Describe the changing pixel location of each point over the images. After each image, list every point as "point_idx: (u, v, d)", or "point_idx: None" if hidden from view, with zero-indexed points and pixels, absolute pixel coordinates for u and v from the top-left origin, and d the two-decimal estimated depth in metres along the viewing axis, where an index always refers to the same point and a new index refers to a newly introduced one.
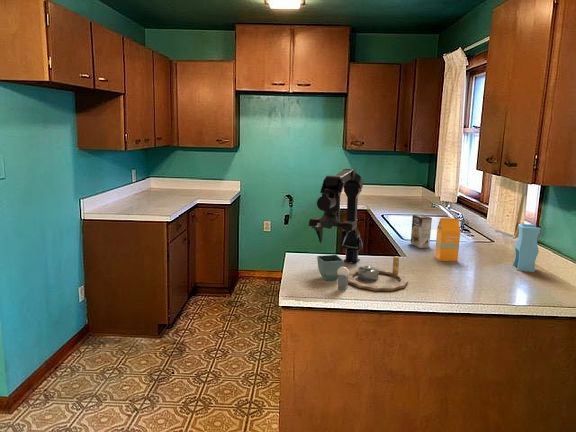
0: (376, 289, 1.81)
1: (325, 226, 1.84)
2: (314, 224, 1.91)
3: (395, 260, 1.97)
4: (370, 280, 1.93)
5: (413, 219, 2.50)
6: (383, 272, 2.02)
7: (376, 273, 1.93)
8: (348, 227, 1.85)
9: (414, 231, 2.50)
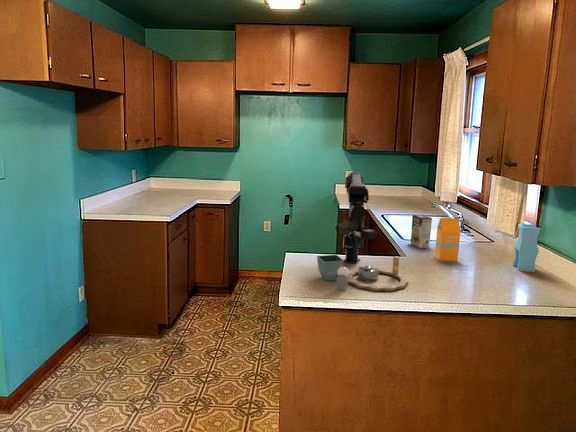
0: (376, 289, 1.81)
1: (343, 232, 1.94)
2: (339, 229, 2.02)
3: (395, 260, 1.97)
4: (370, 280, 1.93)
5: (413, 219, 2.50)
6: (383, 272, 2.02)
7: (376, 273, 1.93)
8: (365, 235, 1.91)
9: (414, 231, 2.50)
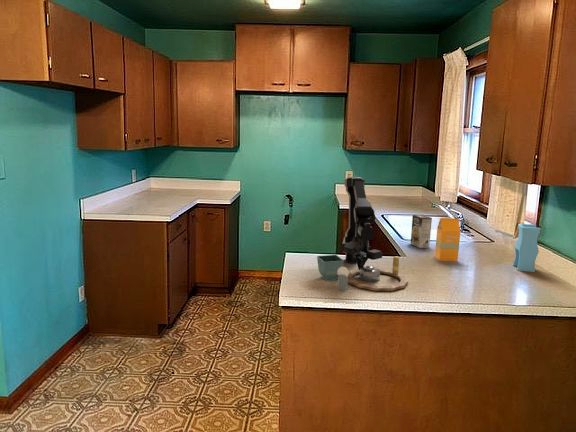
0: (376, 289, 1.81)
1: (348, 252, 1.93)
2: (345, 249, 2.01)
3: (395, 260, 1.97)
4: (371, 280, 1.92)
5: (413, 219, 2.50)
6: (383, 272, 2.02)
7: (377, 273, 1.93)
8: (370, 256, 1.90)
9: (414, 231, 2.50)
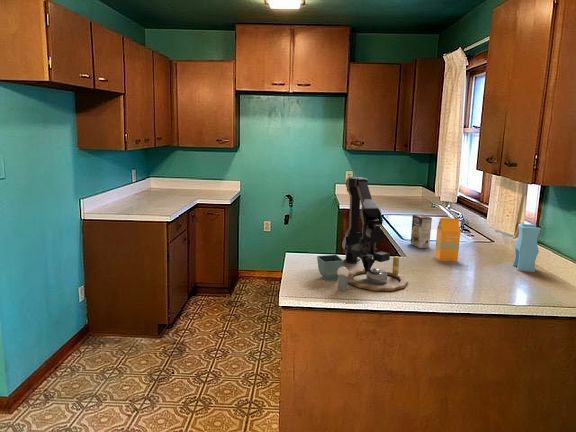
0: (376, 289, 1.81)
1: (355, 254, 1.90)
2: (351, 251, 1.98)
3: (395, 260, 1.97)
4: (379, 283, 1.89)
5: (413, 219, 2.50)
6: None
7: (385, 276, 1.90)
8: (378, 258, 1.87)
9: (414, 231, 2.50)
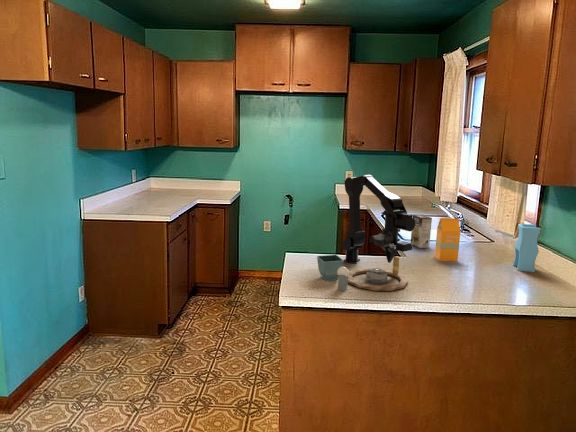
0: (376, 289, 1.81)
1: (378, 244, 1.93)
2: (374, 241, 2.02)
3: (395, 260, 1.97)
4: (379, 283, 1.89)
5: None
6: None
7: (385, 276, 1.90)
8: (400, 248, 1.90)
9: (414, 231, 2.50)
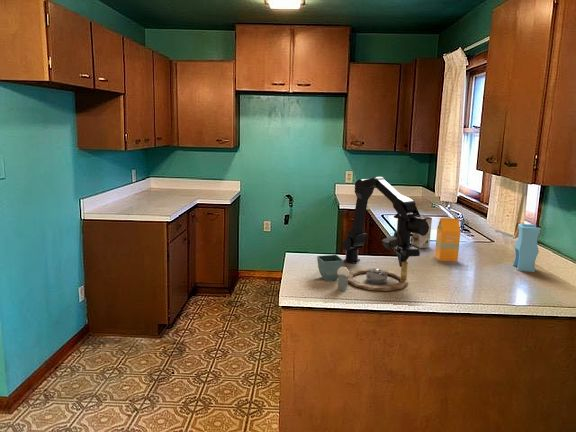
0: (356, 285, 1.85)
1: (385, 246, 1.91)
2: None
3: (402, 265, 1.91)
4: (379, 283, 1.89)
5: None
6: (395, 276, 1.97)
7: (385, 276, 1.90)
8: (404, 253, 1.84)
9: None
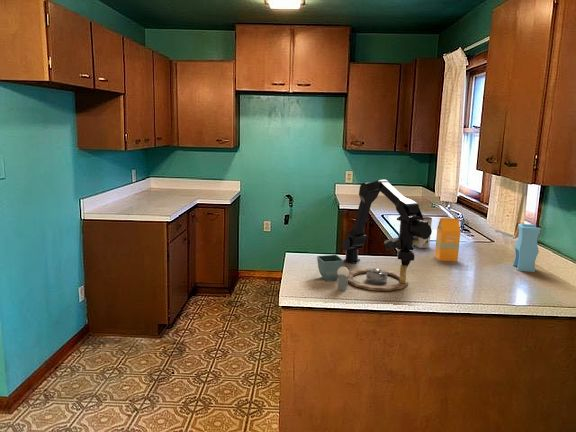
0: None
1: None
2: None
3: (400, 268, 1.86)
4: (379, 283, 1.89)
5: None
6: None
7: (385, 276, 1.90)
8: None
9: None
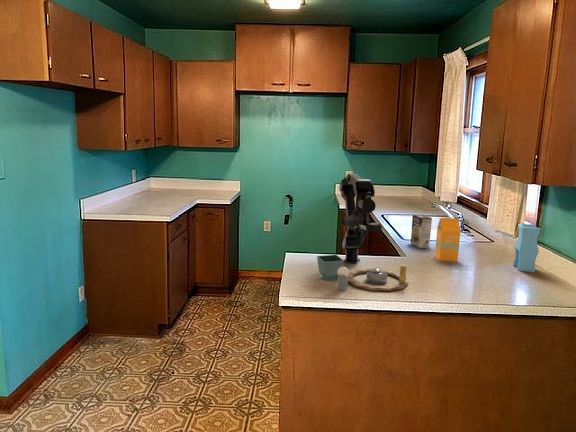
0: None
1: (349, 225, 1.99)
2: (345, 223, 2.07)
3: (400, 268, 1.86)
4: (379, 283, 1.89)
5: (413, 219, 2.50)
6: None
7: (385, 276, 1.90)
8: (370, 228, 1.96)
9: (414, 231, 2.50)
